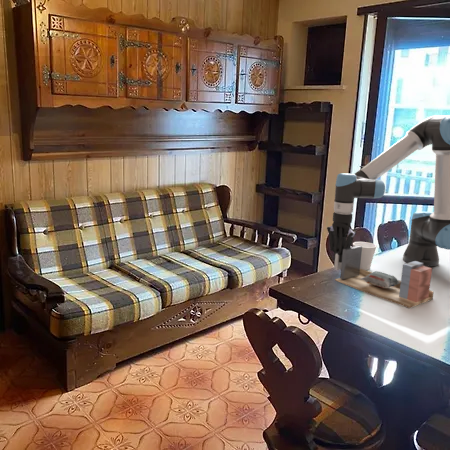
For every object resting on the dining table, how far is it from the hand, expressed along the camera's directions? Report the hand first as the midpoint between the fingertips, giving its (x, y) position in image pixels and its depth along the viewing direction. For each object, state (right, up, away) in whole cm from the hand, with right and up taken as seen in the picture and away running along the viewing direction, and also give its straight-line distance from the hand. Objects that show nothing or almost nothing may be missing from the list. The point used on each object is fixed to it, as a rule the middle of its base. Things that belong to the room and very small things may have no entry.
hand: (337, 269), depth 193 cm
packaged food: (+9, -6, -14) cm, 17 cm away
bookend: (+4, -3, -6) cm, 7 cm away
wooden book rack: (+13, -6, -16) cm, 21 cm away
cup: (+13, -1, +9) cm, 16 cm away
